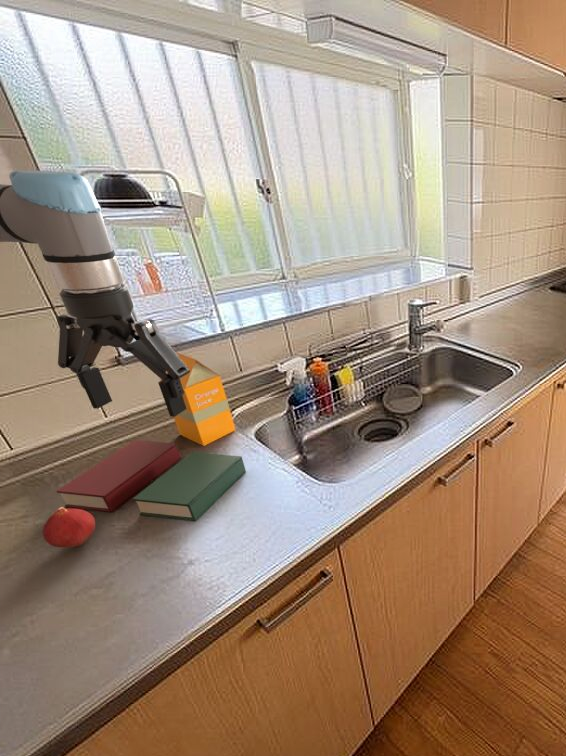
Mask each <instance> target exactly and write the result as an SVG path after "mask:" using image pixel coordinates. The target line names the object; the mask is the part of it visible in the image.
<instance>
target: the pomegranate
mask: <svg viewBox="0 0 566 756" xmlns="http://www.w3.org/2000/svg"><path fill="white" fill-rule="evenodd" d="M95 529H96V521H95V517H94V516H93V515H92V513H90V512H88V511H87V510H85V509H75V508H66V507H64V506H61V507H58V508H57V509H56V511H55V512H54V513H53V514H51V515H50V516H49V518H48V519H47V520H46V522H45V524H44V525H43V527H42V535H43V539H44V541H45V542H46V543H47V544H48V545H51V546H53V547H57V548H72V547H79V546H82V545H83V544H84V543H85V542H86V541H87V540H88V539H89V538H90V537H91V536H92V534H93V533H94V531H95Z"/></svg>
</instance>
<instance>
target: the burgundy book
mask: <svg viewBox="0 0 566 756" xmlns="http://www.w3.org/2000/svg"><path fill="white" fill-rule="evenodd" d="M181 460H182V457H181V454H180V451H179V449H178V446H177V444H176V443H173V442H165V441H163V442H162V441H153V440H143V439H134V440H132V441H130V442H129V443H127V444H126V445H125V446H123V447H121V448H120V449H118V450H116V451H115V452H114V453H112V454H111V455H109V456H108V457H106V458H104V459H103V460H101V461H100V462H98V463H96V464H95V465H94V466H92V467H91V468H89V469H88V470H86V471H85V472H83V473H82V474H80V475H78V476H77V477H75V478H74V479H72V480H71V481H69V482H67V483H66V484H64V485H63V486H61V487H59V488H58V489H57V490H56V493H57V494H60V496H61V498H62V500H63V501H64V503H65V505H64V508H65V509H70V508H73V509H82V510H84V511H94V512H95V511H97V512H104V513H114V512H115V511H117V510H118V509H119V508H120V507H122V506H123V505H124V504H125V503H127V502H128V501H129V500H131V499H133V498H134V497H135V496H137V495H138V494H139V493H140V492H142V491H143V490H144V489H146V488H147V487H148V486H149V485H151V484H152V483H153V482H154V481H156V480H157V479H158V478H160V477H161V476H162V475H163V474H165V473H166V472H167V471H169V470H170V469H171V468H172V467H174V466H175V465H176V464H177V463H179V462H180V461H181Z"/></svg>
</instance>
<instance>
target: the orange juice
mask: <svg viewBox="0 0 566 756" xmlns="http://www.w3.org/2000/svg"><path fill="white" fill-rule="evenodd" d="M176 354H177V355H178V356H179V357H180V359H181V360H182V361H183V362H184V363H185V365H186V366H187V367H188V368H189V370H190V373H189V374H187V375H185V376H183V377H181V378H180V381H181V384H182V387H183V390H184V394H183V395H182V396H183V399H184V402H185V405H186V408H187V409H186V410H184V411H183V412H181V413H180V414H178V415H177V416H175V417H173V420H174V423H175V426H176V428H177V430H178V433H179V435H180V436H181V435H182V436H181V437H184V438H186V439H187V440H190V441H193V442H195V443H197V444H199V445H201V446H203V447H204V446H206V445H208V444H210V443H213V442H214V441H217V440H218V439H221V438H222V437H224V436H226V435H229V434H231V433H232V432H235V431H236V425H235V422H234V419H233V416H232V412H231V409H230V408H231V407H230V405H229V402H228V401H229V400H228V398H227V395H226V392H225V388H224V386H223V382H222V378H221V375H219V374H218V373H216V372H215V371H214V370H212V369H210V368H209V367H208V366H206V365H204V364H203V363H201V362H200V361H199V360H197V359H195V358H192V357H190V356H187V355H185V354H182V353H178V352H176ZM166 373H168V372H167V371H166ZM160 381H162V379H161V378H159V382H160Z"/></svg>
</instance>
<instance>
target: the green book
mask: <svg viewBox="0 0 566 756" xmlns="http://www.w3.org/2000/svg"><path fill="white" fill-rule="evenodd" d="M246 472H247V471H246V467H245V463H244V459H243V457H242V456H238V455H232V454H231V455H230V454H221V453H211V452H201V451H191V452H190V453H189V454H188V455H186V456H185V457H184V458H183V459H180V460H179V461H178V462H177V463H175V464H174V465H173V466H171V467H170V468H169V469H168V470H166V471H165V472H164V473H163V474H161V475H160V476H159V477H157V478H156V479H155V480H154V481H152V482H151V483H150V484H149V485H147V486H146V487H145V488H144V489H142V490H141V491H140V492H138V493H137V494H136V495H135V496H133V497H132V501H133V502H136V505H137V507H138V509H139V510H140V513H139V516H141V517H142V516H143V517H152V518H162V519H169V520H181V521H188V522H189V521H190V522H197V521H199V519H200V518H201V517H202V516H203V515H204V514H205V513H206V512H207V511H208V510H209V509H210V508H212V506H213V505H214V504H215V503H216V502H217V501H218V500H219V499H221V498H222V496H223V495H225V493H227V491H228V490H229V489H231V488H232V486H234V484H236V483H237V482H238V480H239V479H240V478H242V476H244V475H245V473H246Z"/></svg>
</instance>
